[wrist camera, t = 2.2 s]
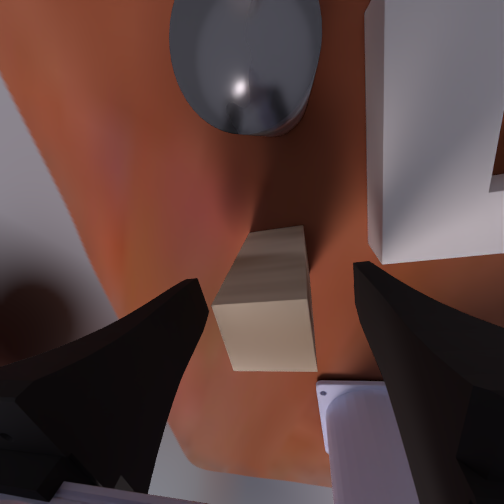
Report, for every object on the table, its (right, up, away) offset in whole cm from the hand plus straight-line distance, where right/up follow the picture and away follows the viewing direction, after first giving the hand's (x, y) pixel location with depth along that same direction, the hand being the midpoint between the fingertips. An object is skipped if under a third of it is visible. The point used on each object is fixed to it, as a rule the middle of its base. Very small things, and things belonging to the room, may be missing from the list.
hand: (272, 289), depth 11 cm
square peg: (+1, +2, +4) cm, 4 cm away
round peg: (0, +9, 0) cm, 9 cm away
